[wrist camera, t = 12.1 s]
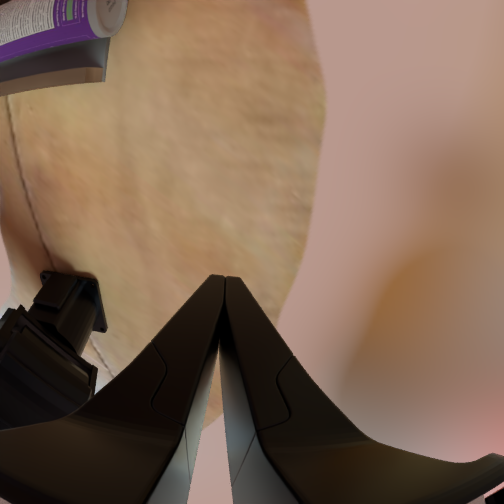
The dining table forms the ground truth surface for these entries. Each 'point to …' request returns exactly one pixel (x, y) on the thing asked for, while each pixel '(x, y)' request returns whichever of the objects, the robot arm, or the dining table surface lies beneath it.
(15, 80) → the cradle
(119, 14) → the container
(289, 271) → the dining table surface
